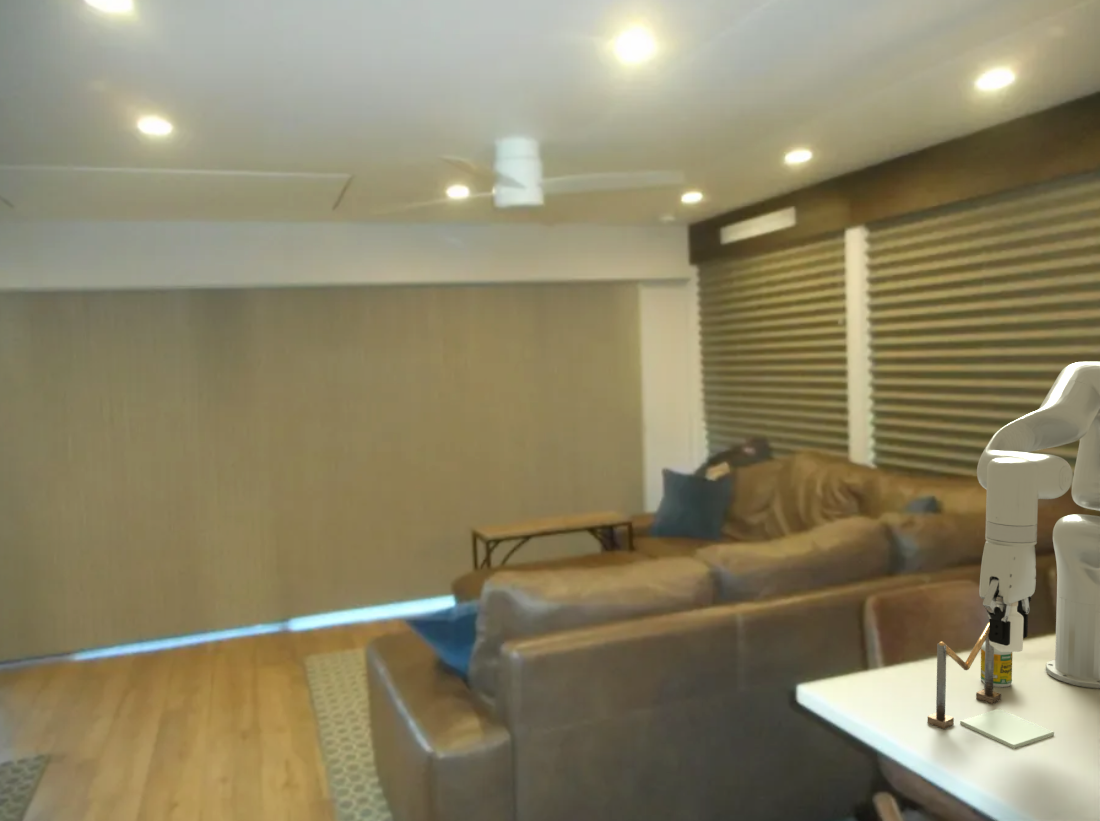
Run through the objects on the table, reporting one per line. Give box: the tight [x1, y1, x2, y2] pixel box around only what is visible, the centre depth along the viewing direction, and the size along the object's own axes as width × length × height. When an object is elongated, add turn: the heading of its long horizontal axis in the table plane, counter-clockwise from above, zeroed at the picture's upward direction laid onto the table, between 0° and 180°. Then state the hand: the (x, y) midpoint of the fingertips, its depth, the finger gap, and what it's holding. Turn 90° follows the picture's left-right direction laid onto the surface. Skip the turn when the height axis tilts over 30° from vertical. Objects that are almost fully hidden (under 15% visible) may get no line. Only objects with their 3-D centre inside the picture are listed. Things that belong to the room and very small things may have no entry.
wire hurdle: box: [927, 621, 1002, 730], centre depth 151 cm, size 19×3×14 cm, turn 125°
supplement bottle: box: [980, 642, 1013, 688], centre depth 163 cm, size 5×5×10 cm
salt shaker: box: [989, 597, 1024, 653], centre depth 143 cm, size 4×4×10 cm
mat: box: [959, 708, 1055, 749], centre depth 144 cm, size 10×10×1 cm
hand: (1008, 638), depth 143 cm, fingers closed on salt shaker, 5 cm apart
